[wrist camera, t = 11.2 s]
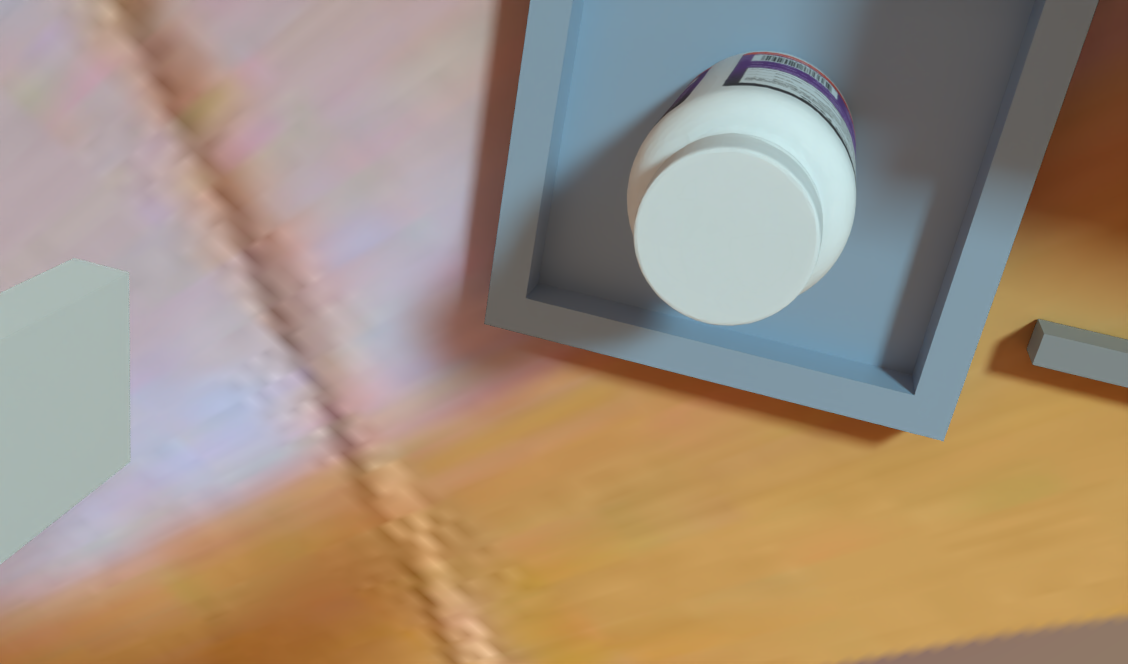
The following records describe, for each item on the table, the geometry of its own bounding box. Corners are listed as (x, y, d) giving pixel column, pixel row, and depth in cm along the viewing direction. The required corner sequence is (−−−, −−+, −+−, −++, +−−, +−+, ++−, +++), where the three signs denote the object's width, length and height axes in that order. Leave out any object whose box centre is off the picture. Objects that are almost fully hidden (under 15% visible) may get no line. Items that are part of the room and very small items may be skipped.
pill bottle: (710, 255, 33) (656, 387, 24) (641, 92, 32) (558, 169, 23) (884, 193, 31) (892, 312, 22) (819, 16, 30) (801, 69, 21)
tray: (503, 302, 36) (484, 323, 34) (572, -166, 30) (554, -170, 28) (938, 412, 34) (943, 441, 32) (1106, -73, 28) (1123, -71, 26)
